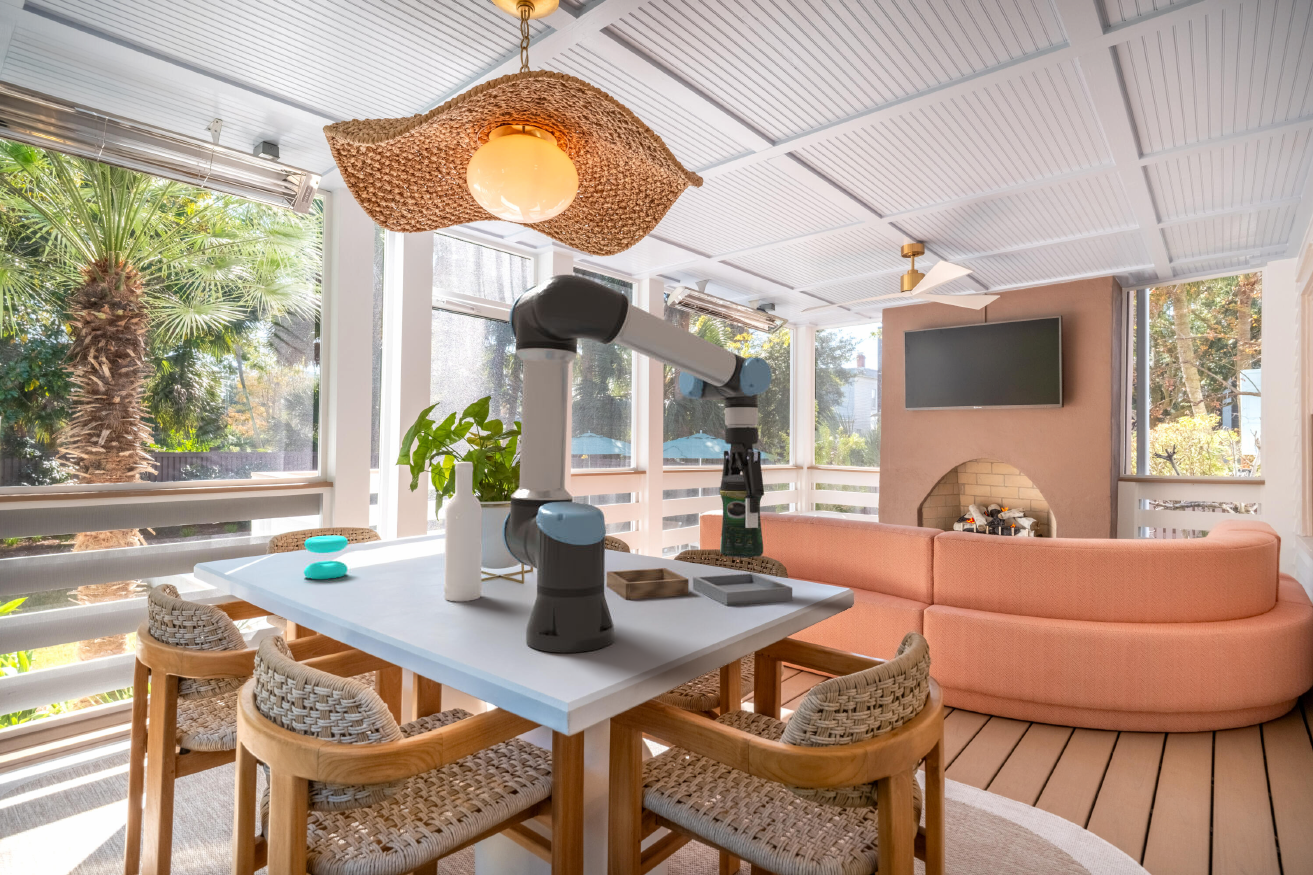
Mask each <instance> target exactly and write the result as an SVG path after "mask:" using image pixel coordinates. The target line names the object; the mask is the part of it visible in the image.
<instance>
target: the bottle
mask: <svg viewBox="0 0 1313 875" xmlns="http://www.w3.org/2000/svg"><path fill="white" fill-rule="evenodd" d="M473 465H474V464H473V462H472V461H456V462H455V466H454V471H455V484H454V486H455V487H454V488H455V490H454V491H455V493H454V494H453V496H452V497H450V498H449V499H448V501H447V504H446V507H445V510H444V516H445V517H444V519H445V520H444V521H445V522H444V523H445V524H444V584H443V592H444V595H443V596H444V599H445V600H446V601H448V600H449V602H468V601H469V602H470V600H471V601H474V600H478V599H480V597H482V589H483V588H482V587H483V584H482V543H483V542H482V530H483V529H482V527H483V524H482V522H483V521H482V520H483V516H482V515H483V511H482V510H483V509H482V506H481V502H480V500H479V498H478V497H477V496H475V494H474V493H473V471H474V466H473ZM456 517H457V518H456Z"/></svg>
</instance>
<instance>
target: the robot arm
mask: <svg viewBox="0 0 1313 875" xmlns="http://www.w3.org/2000/svg"><path fill="white" fill-rule="evenodd" d="M508 315H509V316H508V323H509V329H510V332H511V334H512V335H513V337H514V339H515V355H517V357H519V359H520V360H521V361H522V362H523V368H522V371H523V372H522V397H521V398H522V403H521V429H520V430H521V432H520V433H521V434H520V458H519V460H520V461H519V462H520V463H519V464H520V465H519V486H518V488H517V489H516V490H515V491H514V492H513V493H512V494H511V495H510V512H508V514H507V515H506V517H505V518H504V521H503V523H502V526H501V528H502V529H501V536H502V537H501V538H502V542H503V545H504V547H505V549H506V551H507V552H508V554H509V555H510V556H511V557H512V558H514V559H515V560H517V561H518V562H519V563H520V564H522V565H524V566H527V567H530V568H534V569H536V573H537V574H536V583H537V584H536V599H535V601H534V604H533V607H532V611H531V613H530V617H529V619H528V622H527V626H526V632H525V635H526V636H525V640H526V641H525V643H526V644H527V645H528V646H529V647H531V648H533V649H535V650H540V651H543V652H552V653H582V652H591V651H595V650H598V649H601V648H604V647H605V648H606V647H607V646H610V645H611V644H612V643H613V642H614V640H615V625H614V623H613V619H612V615H611V611H610V609H609V605H608V602H607V598H606V596H605V576H606V575H605V573H606V572H605V570H606V568H605V566H606V565H605V564H606V563H605V562H606V560H605V559H606V558H605V557H606V556H605V555H606V548H605V547H606V535H607V533H606V532H607V530H606V525H605V522H606V520H605V515H604V512H603V511H602V510H601V509H600V508H599V507H596V506H595V505H592V504H588V503H579V502H576V501H575V502H574V501H573V496H572V495H571V494H570V493H569V491H568V490H567V488H566V486H565V485H566V484H565V483H566V457H567V454H566V453H567V426H568V425H567V423H568V422H567V421H568V397H569V396H568V392H569V367H570V366H569V365H570V364H571V363H572V361H573V360H574V359H576V358H577V355H578V339H586V340H592V341H596V342H599V343H601V344H603V345H605V346H606V345H610V344H616V345H620V346H621V347H624V348H627V349H629V350H631V351H634V352H636V353H639V354H641V355H643V356H646V357H648V358H650V359H652V360H655V361H657V362H659V363H662V364H664V365H666V366H669V367H672V368H674V369H675V370H678V371H679V372H680V375H679V378H678V379H679V380H678V381H679V382H678V385H679V387H678V388H679V390H680V392H681V394H682V396H684V397H685V398H687V399H692V400H693V399H694V400H713V401H715V400H716V401H719V400H720V401H724V425H725V426H727V427H726V428H725V429H724V442H725V444H727V445H730V448H729V450H723V464H722V465H723V466H722V473H721V475H722V476H721V478H722V477H723V476H729V475H743V478H744V481H745V487H746V491H747V495H746V496H745V498H746V528H758V498H760V496H762V497H764V495H765V489H764V481H763V472H762V471H763V470H762V463H761V460H762V459H761V458H762V457H761V456H762V452H761V451H759V450H757V451H756V450H754V446H753V445H757V444H758V443H759V429H758V427H756V426H758V424H759V420H758V419H759V416H760V415H759V410H758V408H759V395H761V394H763V393H765V392H767V390H768V389H769V388H770V386H771V382H772V379H773V378H772V377H773V374H772V373H773V372H772V369H771V366H770V363H768V361H766V360H765V359H764V358H762V357H755V356H754V357H753V356H750V357H744V356H741V355H739V354H736V353H734V352H732V351H730V350H727V349H726V348H724V347H721V346H720V345H717V344H715V343H713V342H711V341H709V340H707V339H705V338H704V337H703V338H702V337H700V336H698V335H696V334H694V333H692V332H690V331H688V330H686V329H684V328H682V327H679V326H678V325H675V324H673V323H671V322H669V321H667V320H665V319H662V318H661V317H659V316H656V315H654V314H652V313H651V312H648V311H646V310H644V309H642V308H640V307H637V306H635V305H633V304H632V303H631V302H630V299H629V297H628V296H627V295H626V294H623V293H622V292H619V291H617V290H616V289H613V288H611V287H608V286H607V285H604V284H602V283H599V282H596V281H595V280H591V279H589V278H585V277H583V276H579V275H576V274H574V275H573V274H559V275H554V276H552V277H550V278H548V279H546V280H545V281H543V282H541V283H540V284H537V285H534V286H531V287H530V288H527V289H526V290H524V291H523V292H522V293H521V294H520V295H519V296H518V297H517V298H516V299H515V300H514V302H513V304H512V305H511V308H510V311H509V314H508Z"/></svg>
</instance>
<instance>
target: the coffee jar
mask: <svg viewBox="0 0 1313 875" xmlns="http://www.w3.org/2000/svg"><path fill="white" fill-rule="evenodd" d="M719 494H720V498H721V501H722V502H721V503H722V523H721V534H720V549H719V550H720V554H721V555H723V556H725V557H730V558H740V559H741V558H742V559H743V558H744V559H747V558H748V559H749V558H755V557H756V558H760V557H761V556H762V555H763V554H764V541H763V533H762V532H763V530H762V523H761V499H762V498H763V496H760V498H758V528H746V498H745V496H746V495H747V491H746V487H745V481H744V478H743V474H740V475H729V476H723V477H722V476H721V481H720V488H719Z"/></svg>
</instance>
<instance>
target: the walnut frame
mask: <svg viewBox="0 0 1313 875" xmlns="http://www.w3.org/2000/svg"><path fill="white" fill-rule="evenodd" d="M689 584H690V582H689V578H687V577H684V576H683V575H680V574H678V573H676V572H675V571H672V570H670V569H668V568H665V567H662V568H660V567H659V568H648V569H647V568H646V569H645V568H644V569H643V568H641V569H629V570H628V569H626V570H612V571H611V570H610V571H606V587H608V589H610V590H611V591H613V592H614V593H615V594H617V595H619V596H620V597H621V598H623V599H624V600H638V599H650V598H661V597H662V598H664V597H666V598H667V597H675V596H676V597H677V596H688V595H689Z"/></svg>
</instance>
